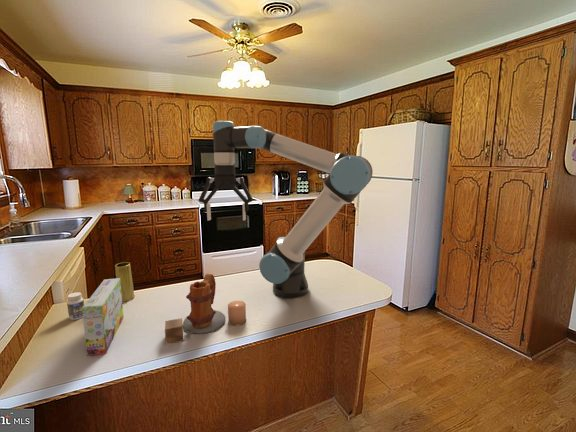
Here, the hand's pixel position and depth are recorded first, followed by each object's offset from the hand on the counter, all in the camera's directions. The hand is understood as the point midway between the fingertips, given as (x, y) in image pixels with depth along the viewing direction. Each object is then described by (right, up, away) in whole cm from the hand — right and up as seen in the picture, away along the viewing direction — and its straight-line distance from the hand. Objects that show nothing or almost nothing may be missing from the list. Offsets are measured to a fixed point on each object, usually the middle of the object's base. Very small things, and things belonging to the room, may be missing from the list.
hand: (226, 219), depth 117 cm
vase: (-41, -32, +4) cm, 52 cm away
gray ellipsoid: (-5, -35, -13) cm, 38 cm away
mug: (-5, -34, -14) cm, 37 cm away
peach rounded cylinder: (+6, -35, -12) cm, 37 cm away
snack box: (-34, -37, -21) cm, 54 cm away
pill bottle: (-51, -34, -10) cm, 62 cm away
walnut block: (-12, -37, -22) cm, 45 cm away
